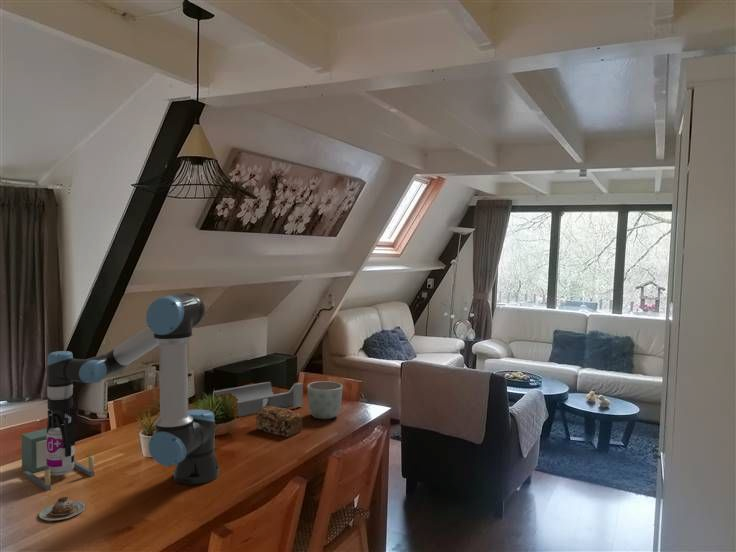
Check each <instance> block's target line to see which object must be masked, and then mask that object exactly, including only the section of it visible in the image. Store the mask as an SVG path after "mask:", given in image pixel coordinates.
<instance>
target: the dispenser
mask: <svg viewBox="0 0 736 552" xmlns="http://www.w3.org/2000/svg"><path fill="white" fill-rule="evenodd" d="M46 434H47V427H46V428H44V429H43V428H42V429H39V430H34V431H31V432H26V433H22V434H21V468H22V467H23V468H22V469H24V471H22V476H23V477H24V476H25V477H24V478H26V479H27V480H29V481H30V482H32V483H34V484H36V485H37V486H38V487H40V488H42V489H43V490H45V491H46V492H47V491H51V489H52V485H51V475H50V469H47V439H46ZM94 459H95V456H93V455H91V456H88V466H85V465H83V464H81V463H79V462H78V461H75V460H74V468H73V469H76V470H78V471H79V472H82V473H83V474H86V476H89V477H94V476H95V467H94V466H95V465H94V462H95V460H94ZM25 469H26V470H25ZM43 470H44V480H43V479H41V478H40V477H38V476H37V475H35V474H34V473H37V472H41V471H43Z"/></svg>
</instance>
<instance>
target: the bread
mask: <svg viewBox="0 0 736 552" xmlns="http://www.w3.org/2000/svg"><path fill="white" fill-rule="evenodd" d="M255 422H256V423H255V425H256V428H257V429H258V431H260V430H262V431H263V432H266V433H269V434H273V435H278V436H283V437H292V436H294V435H295V434H299V433H301V432H302V429H303V417H302V416H301V414H299V413H298V412H295V411H294V410H291V409H288V408H286V407H284V408H280V407H274V406H265V407H262V408H260V409H259V411H257V413H256V414H255Z"/></svg>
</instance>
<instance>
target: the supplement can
mask: <svg viewBox="0 0 736 552" xmlns="http://www.w3.org/2000/svg"><path fill="white" fill-rule="evenodd" d="M46 439H47V469H50V476H63V475H66V474H69V473H70V472H72V471H73V470H74V469H75V468H74V461H75V445H73V446H71V465H67V466H64V467H63V466H62V448H61V447H62V446H63V441H62V434H61V431H60V428H58V427H56V428H50V429H49V431H48V433H47V434H46Z"/></svg>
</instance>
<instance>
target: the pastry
mask: <svg viewBox="0 0 736 552" xmlns="http://www.w3.org/2000/svg"><path fill="white" fill-rule="evenodd" d="M75 509H76V511H75ZM84 510H85V504H84V503H83V502H81V501H75V500H73V501H72V500H71V499H69V497H68V496H63V497H59V498H58V499H57V501H56V502H55V503H54V504H50V505H49V506H46V507H43V509H42V510H40V512H39V513H38V518H39V519H41V520H43V521H46V522H52V521H53V522H54V521H60V520H68V519H70V518H72V517H75V516H76V515H79V514H80V513H82V512H83V511H84ZM74 511H75V513H73V512H74ZM49 513H50V515H51V516H53V517H59V518H51V517H48V514H49ZM72 513H73V514H72ZM70 514H71V515H70ZM64 516H65V517H64Z"/></svg>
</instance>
